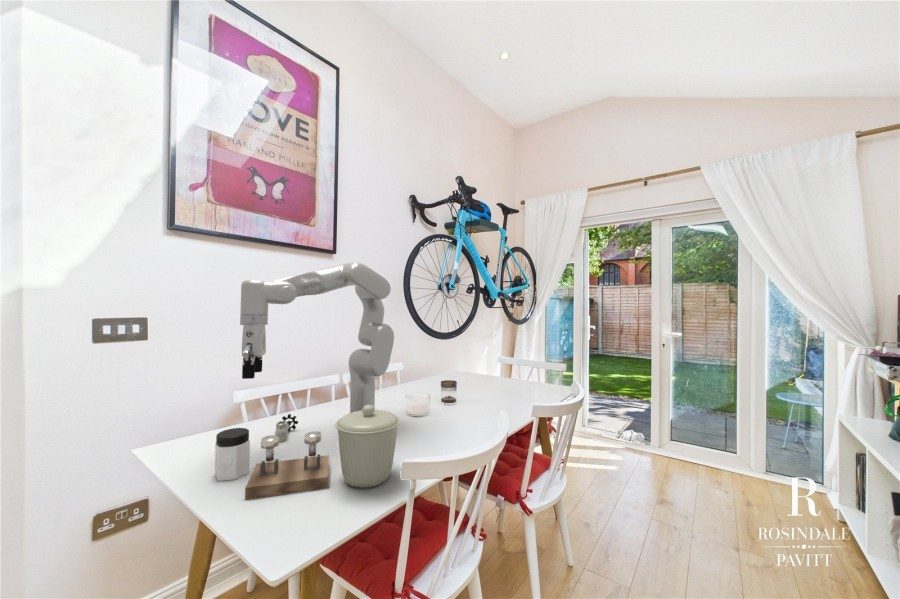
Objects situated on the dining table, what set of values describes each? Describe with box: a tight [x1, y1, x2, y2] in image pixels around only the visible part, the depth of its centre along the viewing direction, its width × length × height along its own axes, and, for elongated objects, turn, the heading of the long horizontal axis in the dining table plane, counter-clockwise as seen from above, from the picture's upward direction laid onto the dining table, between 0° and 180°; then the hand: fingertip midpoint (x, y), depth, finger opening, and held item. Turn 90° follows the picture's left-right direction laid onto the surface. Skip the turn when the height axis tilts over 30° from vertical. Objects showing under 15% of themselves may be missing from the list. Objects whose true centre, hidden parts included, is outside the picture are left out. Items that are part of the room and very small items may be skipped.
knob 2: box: [303, 430, 322, 458], centre depth 101 cm, size 4×4×6 cm
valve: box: [274, 413, 299, 444], centre depth 131 cm, size 7×7×12 cm
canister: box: [334, 405, 401, 489], centre depth 101 cm, size 18×18×21 cm
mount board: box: [244, 454, 330, 501], centre depth 99 cm, size 20×14×6 cm
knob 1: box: [260, 434, 280, 463], centre depth 97 cm, size 4×4×6 cm
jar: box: [214, 427, 251, 482], centre depth 102 cm, size 9×8×12 cm
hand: (252, 375), depth 109 cm, fingers open, 9 cm apart
